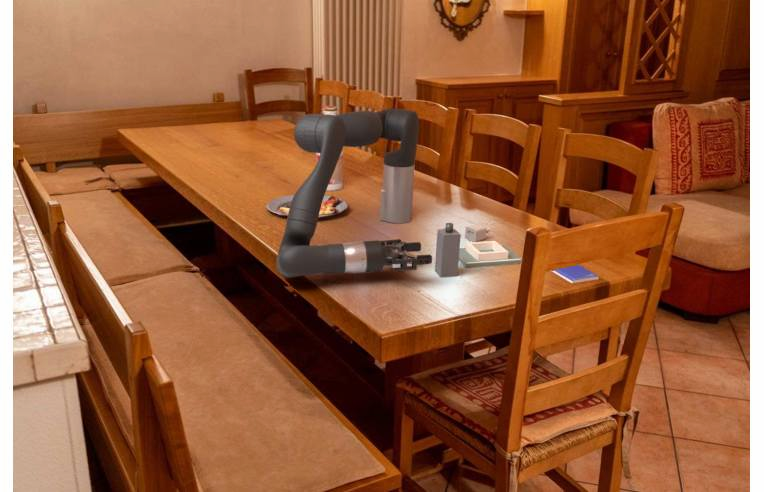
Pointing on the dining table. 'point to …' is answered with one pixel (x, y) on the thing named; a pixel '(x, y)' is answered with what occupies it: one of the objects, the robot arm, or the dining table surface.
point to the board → (486, 254)
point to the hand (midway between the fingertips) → (426, 252)
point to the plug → (447, 251)
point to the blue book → (576, 274)
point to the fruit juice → (337, 175)
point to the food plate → (327, 208)
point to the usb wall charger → (475, 232)
